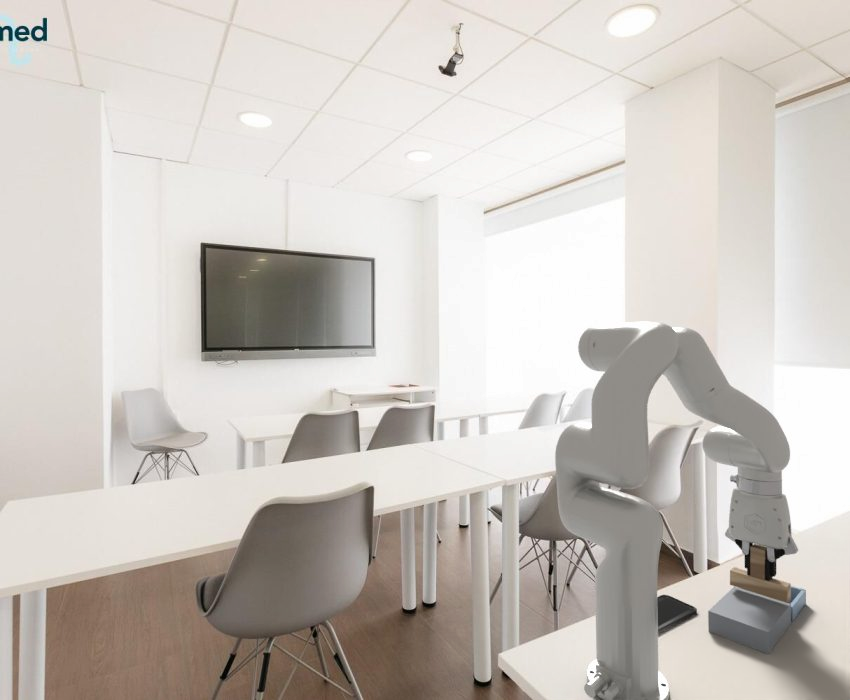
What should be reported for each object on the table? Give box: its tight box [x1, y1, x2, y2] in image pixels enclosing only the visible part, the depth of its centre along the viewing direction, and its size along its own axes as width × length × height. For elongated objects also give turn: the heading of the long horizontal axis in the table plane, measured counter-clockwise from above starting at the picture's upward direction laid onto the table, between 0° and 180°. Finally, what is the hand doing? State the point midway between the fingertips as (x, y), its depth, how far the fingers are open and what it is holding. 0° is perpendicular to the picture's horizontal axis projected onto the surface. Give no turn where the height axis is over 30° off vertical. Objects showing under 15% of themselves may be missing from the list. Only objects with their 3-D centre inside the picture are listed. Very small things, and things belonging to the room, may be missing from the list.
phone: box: [657, 594, 698, 635], centre depth 106 cm, size 8×1×15 cm
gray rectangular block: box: [707, 586, 792, 655], centre depth 101 cm, size 14×10×4 cm
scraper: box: [729, 543, 792, 603], centre depth 104 cm, size 2×10×9 cm, turn 41°
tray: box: [738, 585, 807, 623], centre depth 109 cm, size 10×10×3 cm
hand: (760, 574), depth 105 cm, fingers closed on scraper, 2 cm apart
